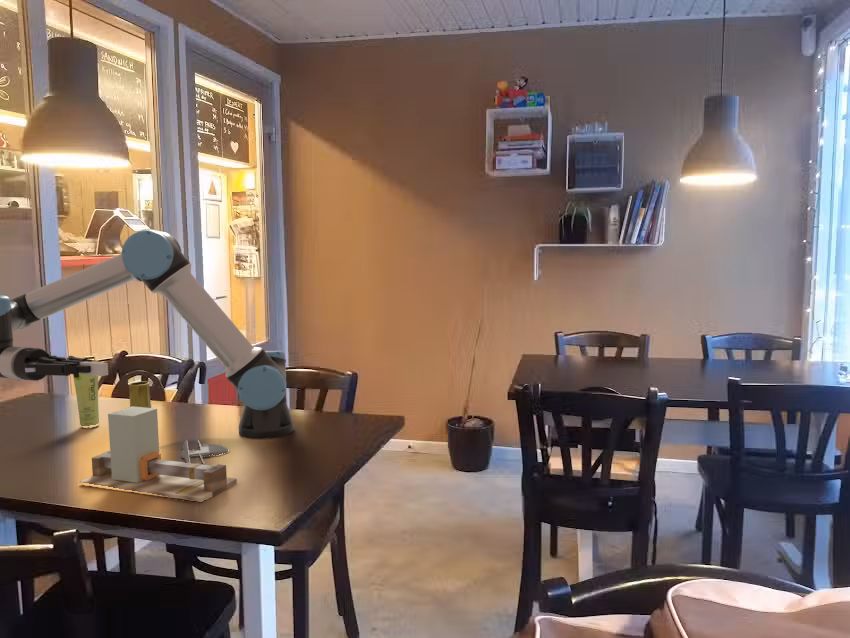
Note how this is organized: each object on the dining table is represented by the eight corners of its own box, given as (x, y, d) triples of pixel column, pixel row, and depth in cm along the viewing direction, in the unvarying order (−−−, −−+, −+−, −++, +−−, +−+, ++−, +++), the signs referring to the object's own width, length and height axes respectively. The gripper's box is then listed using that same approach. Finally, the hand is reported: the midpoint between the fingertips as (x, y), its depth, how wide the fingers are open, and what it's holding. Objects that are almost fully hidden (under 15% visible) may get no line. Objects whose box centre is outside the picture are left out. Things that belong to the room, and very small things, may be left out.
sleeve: (111, 479, 144) (107, 413, 142) (135, 469, 150) (132, 406, 149) (141, 483, 141) (138, 416, 140) (164, 472, 148) (161, 409, 146)
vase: (137, 437, 181) (134, 386, 179) (125, 433, 184) (123, 383, 183) (158, 432, 186) (155, 382, 184) (146, 428, 189) (143, 380, 188)
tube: (85, 430, 188) (80, 363, 185) (74, 428, 190) (69, 362, 188) (103, 425, 192) (99, 360, 190) (92, 423, 195) (88, 359, 193)
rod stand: (80, 485, 144) (78, 462, 143) (121, 468, 155) (120, 446, 155) (201, 503, 133) (200, 477, 133) (236, 483, 145) (235, 459, 144)
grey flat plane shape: (141, 446, 173) (141, 442, 173) (250, 435, 183) (250, 431, 183) (135, 481, 147) (134, 476, 147) (262, 466, 157) (262, 461, 157)
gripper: (51, 374, 160) (128, 380, 152) (1, 384, 148) (82, 392, 140) (49, 343, 159) (126, 348, 151) (-2, 351, 147) (80, 357, 139)
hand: (105, 369), depth 146 cm, fingers closed
